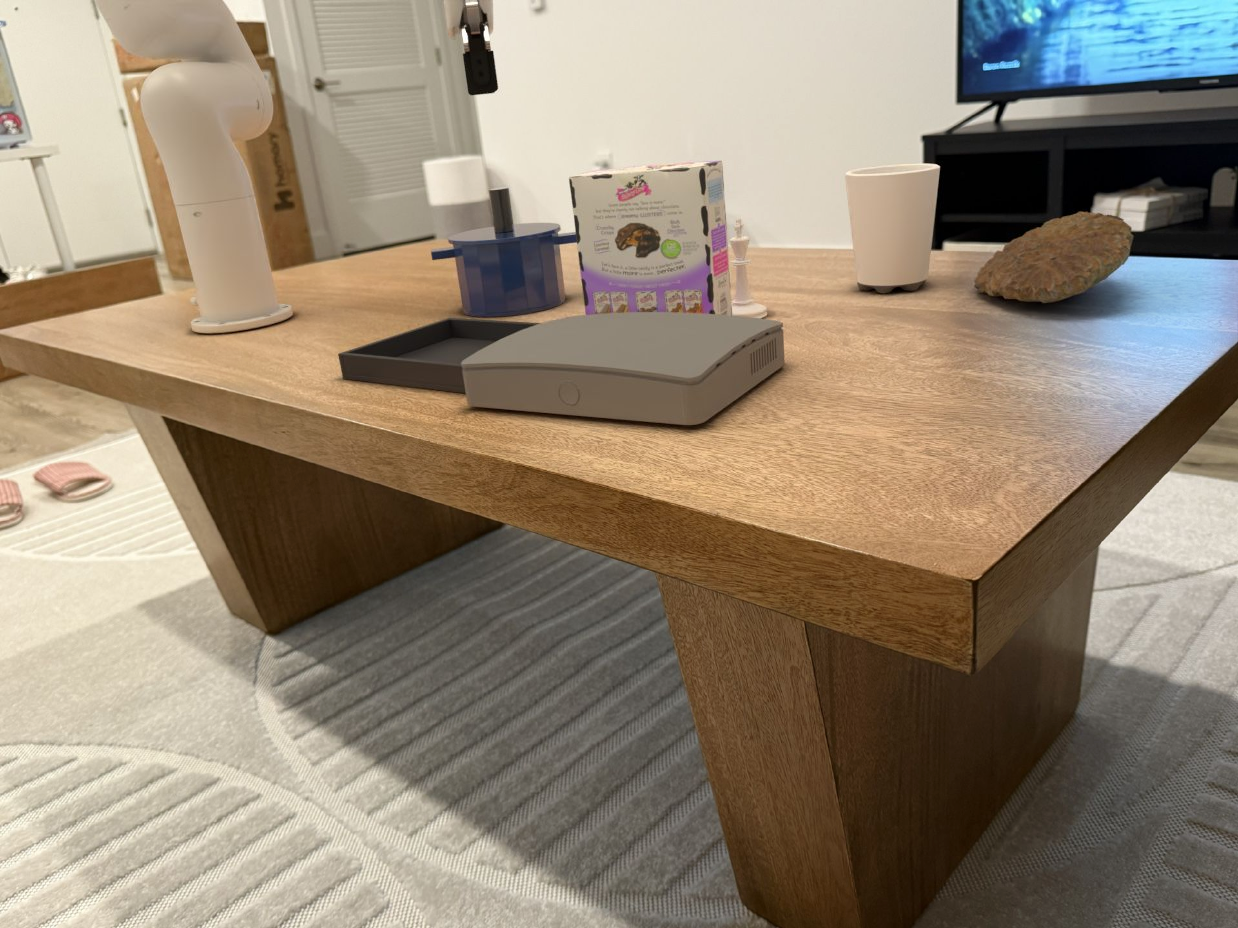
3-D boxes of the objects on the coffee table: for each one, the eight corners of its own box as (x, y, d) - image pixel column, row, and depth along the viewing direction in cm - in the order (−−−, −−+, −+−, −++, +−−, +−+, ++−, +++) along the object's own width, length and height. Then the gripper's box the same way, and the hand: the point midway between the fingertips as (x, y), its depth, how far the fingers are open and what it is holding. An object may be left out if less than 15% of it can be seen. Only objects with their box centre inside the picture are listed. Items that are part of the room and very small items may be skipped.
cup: (950, 291, 105) (952, 167, 100) (857, 300, 105) (855, 177, 101) (924, 275, 114) (925, 161, 110) (839, 283, 115) (836, 170, 110)
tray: (342, 378, 95) (337, 353, 94) (452, 340, 106) (449, 317, 106) (472, 394, 85) (468, 366, 84) (578, 350, 97) (575, 325, 96)
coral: (990, 260, 109) (1105, 162, 99) (1045, 323, 108) (1167, 230, 98) (925, 299, 96) (1051, 189, 85) (988, 371, 94) (1123, 268, 84)
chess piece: (714, 321, 102) (708, 224, 99) (727, 311, 107) (722, 216, 103) (760, 321, 100) (755, 221, 97) (772, 310, 105) (768, 214, 101)
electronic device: (585, 350, 96) (579, 300, 94) (796, 360, 85) (794, 303, 84) (461, 410, 81) (452, 351, 79) (698, 431, 70) (693, 363, 68)
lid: (448, 240, 124) (441, 191, 122) (555, 228, 126) (549, 178, 124) (449, 255, 112) (441, 200, 110) (568, 240, 113) (561, 186, 111)
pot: (441, 305, 126) (430, 238, 123) (579, 287, 129) (572, 221, 126) (441, 325, 115) (429, 251, 112) (593, 305, 117) (585, 232, 114)
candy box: (735, 330, 98) (725, 158, 92) (715, 345, 93) (703, 164, 87) (610, 329, 104) (593, 167, 98) (585, 343, 99) (566, 174, 93)
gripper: (426, -63, 111) (450, 98, 117) (419, -93, 95) (447, 96, 101) (492, -69, 112) (513, 91, 118) (496, -99, 96) (520, 88, 102)
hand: (482, 93), depth 109 cm, fingers open, 9 cm apart
